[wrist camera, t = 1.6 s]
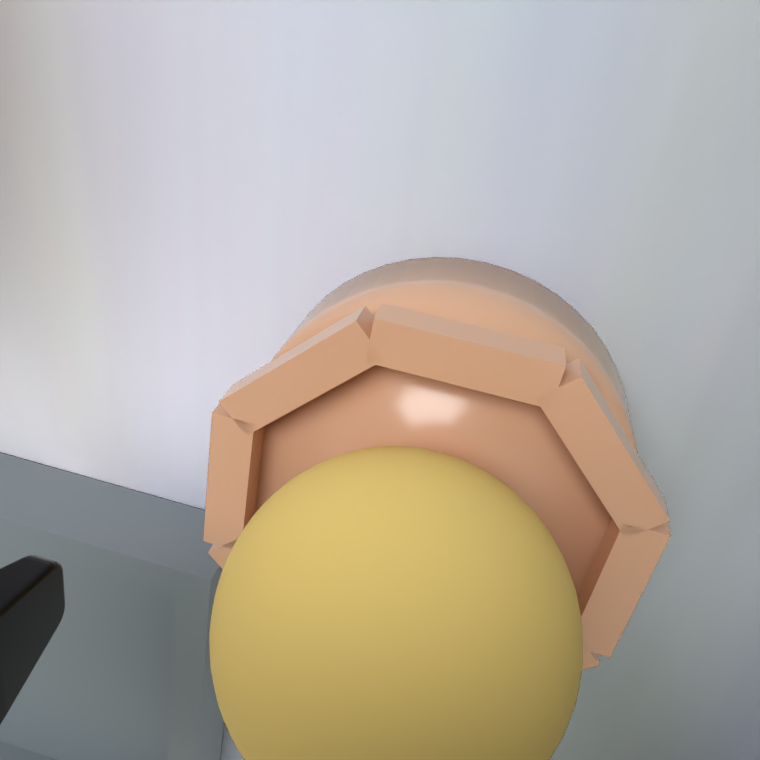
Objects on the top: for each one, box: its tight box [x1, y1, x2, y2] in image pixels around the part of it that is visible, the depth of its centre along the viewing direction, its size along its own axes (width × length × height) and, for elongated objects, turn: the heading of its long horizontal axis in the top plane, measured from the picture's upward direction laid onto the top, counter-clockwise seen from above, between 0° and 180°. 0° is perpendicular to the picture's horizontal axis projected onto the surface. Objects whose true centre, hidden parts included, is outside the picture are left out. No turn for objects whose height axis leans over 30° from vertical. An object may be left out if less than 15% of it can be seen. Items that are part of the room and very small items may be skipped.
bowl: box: [203, 257, 671, 670], centre depth 13 cm, size 7×7×4 cm
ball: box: [209, 446, 583, 760], centre depth 10 cm, size 5×5×5 cm
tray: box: [0, 453, 224, 760], centre depth 19 cm, size 12×12×2 cm
